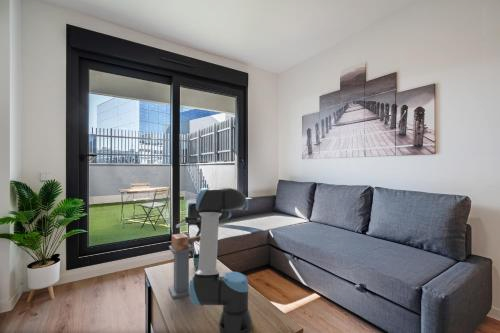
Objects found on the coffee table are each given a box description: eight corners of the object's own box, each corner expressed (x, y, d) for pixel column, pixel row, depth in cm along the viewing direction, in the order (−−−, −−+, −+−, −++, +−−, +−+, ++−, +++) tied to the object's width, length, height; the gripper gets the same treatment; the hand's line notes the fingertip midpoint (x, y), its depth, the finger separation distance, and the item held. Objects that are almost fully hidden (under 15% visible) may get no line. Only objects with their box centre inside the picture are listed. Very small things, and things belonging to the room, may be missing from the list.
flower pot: (193, 271, 162) (193, 258, 162) (192, 266, 170) (193, 254, 170) (205, 270, 164) (206, 257, 164) (204, 265, 172) (205, 253, 173)
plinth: (188, 284, 144) (188, 242, 144) (194, 293, 134) (194, 248, 134) (168, 289, 138) (168, 245, 138) (172, 299, 128) (173, 252, 128)
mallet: (207, 239, 150) (207, 229, 150) (213, 243, 143) (213, 232, 143) (171, 246, 137) (171, 234, 137) (176, 251, 130) (176, 238, 130)
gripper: (218, 237, 153) (188, 253, 142) (202, 211, 167) (173, 223, 157) (219, 231, 148) (187, 246, 137) (202, 204, 163) (172, 217, 152)
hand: (180, 234), depth 147 cm, fingers open, 13 cm apart
